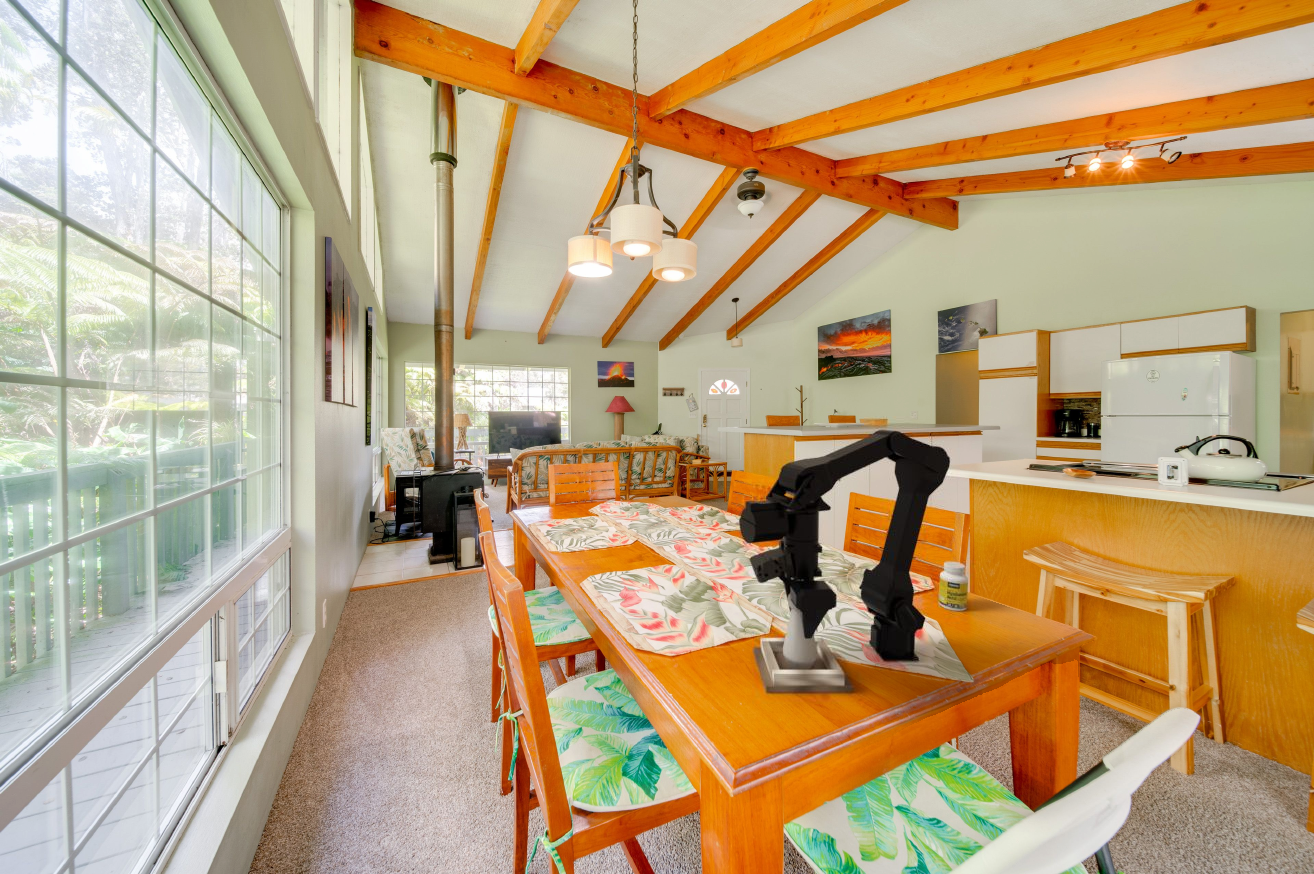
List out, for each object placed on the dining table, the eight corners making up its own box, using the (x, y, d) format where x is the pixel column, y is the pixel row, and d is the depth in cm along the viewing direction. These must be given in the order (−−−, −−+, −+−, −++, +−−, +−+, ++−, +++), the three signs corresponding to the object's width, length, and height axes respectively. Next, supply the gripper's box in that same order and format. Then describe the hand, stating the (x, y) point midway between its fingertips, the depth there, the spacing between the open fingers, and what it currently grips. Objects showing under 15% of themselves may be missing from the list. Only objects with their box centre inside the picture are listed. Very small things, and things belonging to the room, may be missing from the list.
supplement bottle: (944, 611, 104) (946, 568, 103) (934, 600, 109) (936, 559, 108) (971, 612, 103) (973, 569, 102) (959, 601, 108) (961, 560, 108)
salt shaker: (818, 677, 79) (819, 602, 78) (783, 673, 80) (784, 599, 79) (815, 658, 85) (816, 588, 84) (782, 654, 86) (782, 585, 85)
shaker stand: (828, 652, 88) (828, 636, 88) (853, 692, 76) (853, 674, 76) (753, 652, 89) (753, 636, 88) (766, 692, 77) (766, 674, 77)
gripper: (744, 522, 90) (745, 601, 91) (764, 555, 71) (764, 654, 73) (803, 521, 90) (802, 600, 91) (838, 555, 71) (836, 653, 72)
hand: (800, 624), depth 82 cm, fingers open, 9 cm apart
